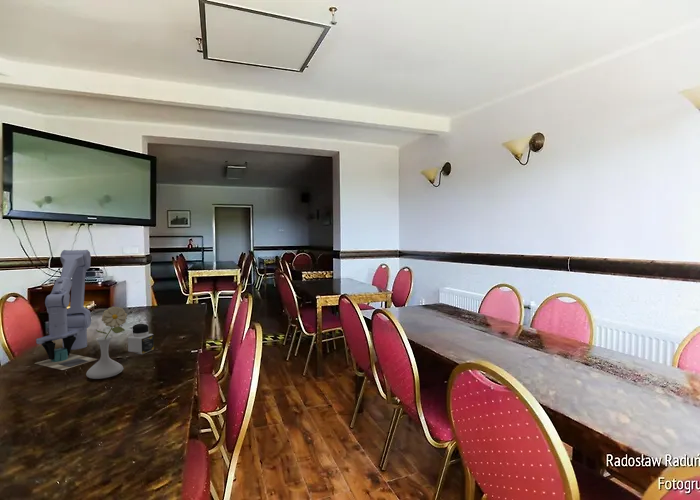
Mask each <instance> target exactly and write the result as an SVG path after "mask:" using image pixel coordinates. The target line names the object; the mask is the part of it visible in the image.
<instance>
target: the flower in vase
mask: <svg viewBox="0 0 700 500" xmlns="http://www.w3.org/2000/svg"><path fill="white" fill-rule="evenodd" d="M127 317H128V313H127V312H126V311H125V310H124V308H123V307H119V306H111V307H108V308H107V309H105V310H104V311H103V313H102V316H101V321H102V322H103V324H105V325H104V326H106V327H110V329H109V331H108V332H106V331H102V330H98V329H95V331H96V332H97V333H101V334H105V335H106V336H99V337H97V338H95V340H96V341H97V343H98V345H99V348H100V358H99V359H98V361H96V362H95V363H94V364H93V365H92V366H91V367H90V368H89V369H88V370H87V371H86V373H85V375H86V377H87V378H89V379H93V380H99V379H100V380H101V379H107V378H111V377H115V376H117V375H119V374H120V373H122V372H123V371H124V366H123V364H121V363H119V362H117V361H116V360H114V359H112V358H110V354H109V345H110V342H111V340H112V339H113V336H110V335H109V334H110V333H111V331H112V332H113V333H115V334H120V333H123V332H125V331H126V329H125V328H123V327H122V326H123V325H124V324H126V322H127Z"/></svg>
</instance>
